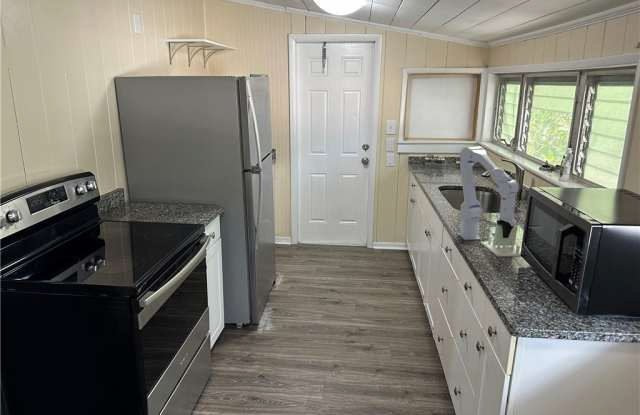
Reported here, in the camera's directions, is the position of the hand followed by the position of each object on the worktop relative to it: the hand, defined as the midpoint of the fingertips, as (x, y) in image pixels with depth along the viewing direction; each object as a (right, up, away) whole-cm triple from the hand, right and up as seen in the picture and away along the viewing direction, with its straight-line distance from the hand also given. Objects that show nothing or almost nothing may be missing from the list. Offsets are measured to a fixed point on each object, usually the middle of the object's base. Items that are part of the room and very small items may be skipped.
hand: (504, 237), depth 196 cm
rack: (0, -6, +2) cm, 6 cm away
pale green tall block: (0, -4, +1) cm, 4 cm away
